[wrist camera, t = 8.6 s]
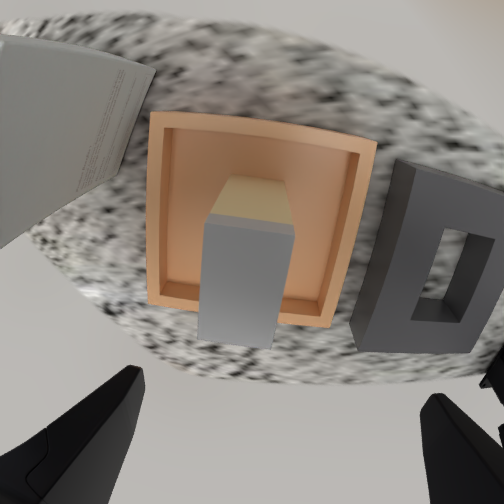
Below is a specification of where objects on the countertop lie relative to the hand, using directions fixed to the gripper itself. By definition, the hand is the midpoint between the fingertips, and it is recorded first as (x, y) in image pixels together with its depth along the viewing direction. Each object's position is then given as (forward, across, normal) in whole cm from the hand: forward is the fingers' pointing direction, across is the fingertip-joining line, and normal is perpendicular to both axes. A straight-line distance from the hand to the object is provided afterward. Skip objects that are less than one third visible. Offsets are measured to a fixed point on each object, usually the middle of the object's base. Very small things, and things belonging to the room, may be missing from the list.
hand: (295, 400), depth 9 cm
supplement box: (+12, +13, -7) cm, 19 cm away
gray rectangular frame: (+13, -11, 0) cm, 17 cm away
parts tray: (+12, +2, -1) cm, 13 cm away
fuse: (+12, +2, -1) cm, 12 cm away
